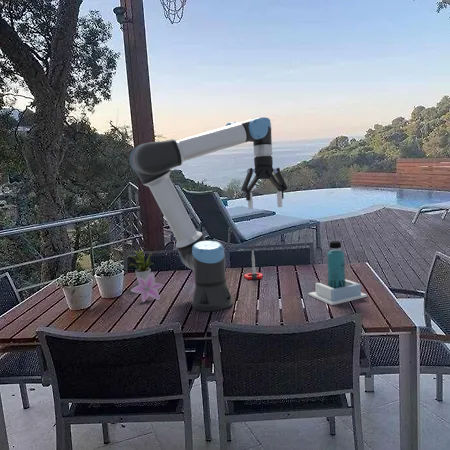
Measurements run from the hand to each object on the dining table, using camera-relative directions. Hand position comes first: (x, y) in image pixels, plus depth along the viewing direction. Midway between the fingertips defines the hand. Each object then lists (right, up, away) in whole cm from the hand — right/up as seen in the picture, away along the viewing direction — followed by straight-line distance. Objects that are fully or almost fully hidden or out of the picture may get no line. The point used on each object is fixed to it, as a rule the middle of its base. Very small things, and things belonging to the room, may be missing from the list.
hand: (265, 208), depth 179 cm
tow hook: (-4, -31, +18) cm, 36 cm away
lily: (-48, -37, -2) cm, 61 cm away
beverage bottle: (+25, -33, -16) cm, 45 cm away
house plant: (-55, -34, +22) cm, 68 cm away
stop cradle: (+25, -34, -16) cm, 45 cm away
